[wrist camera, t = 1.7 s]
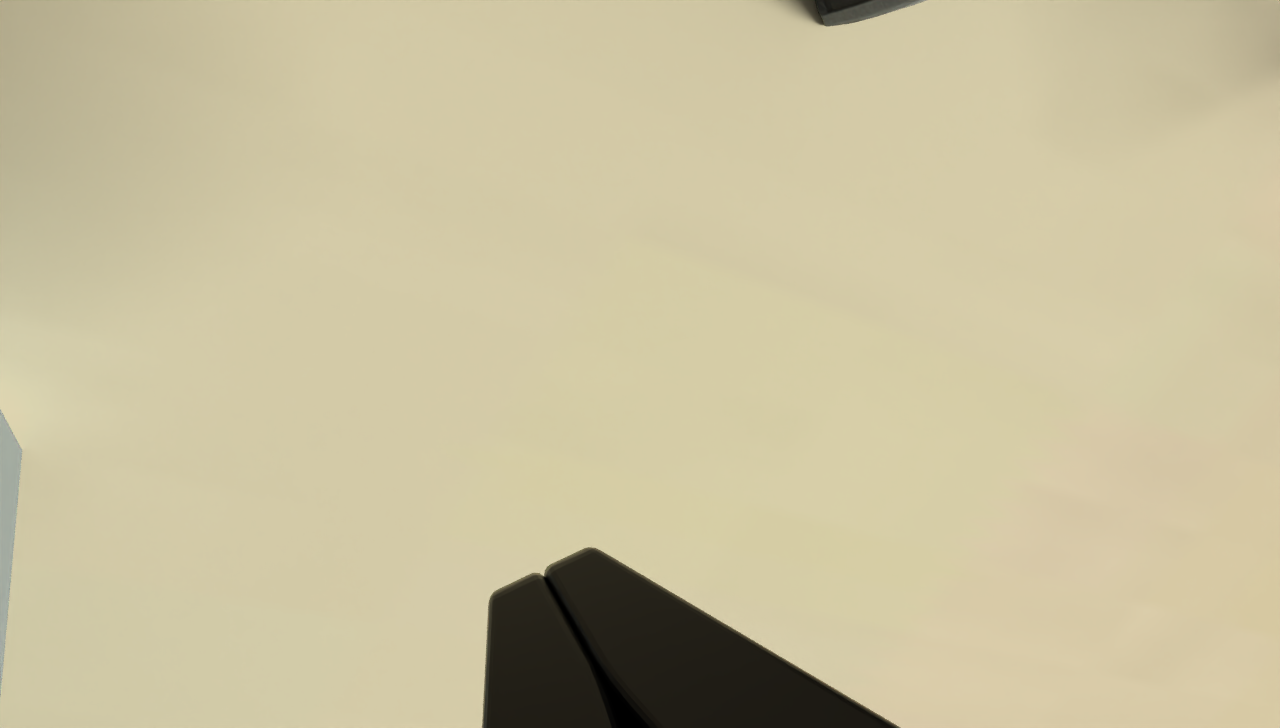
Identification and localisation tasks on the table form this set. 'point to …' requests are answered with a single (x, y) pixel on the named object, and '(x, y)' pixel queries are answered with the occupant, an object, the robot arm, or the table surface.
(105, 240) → the table surface
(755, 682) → the robot arm
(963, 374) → the table surface
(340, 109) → the table surface
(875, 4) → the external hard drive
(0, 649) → the block
